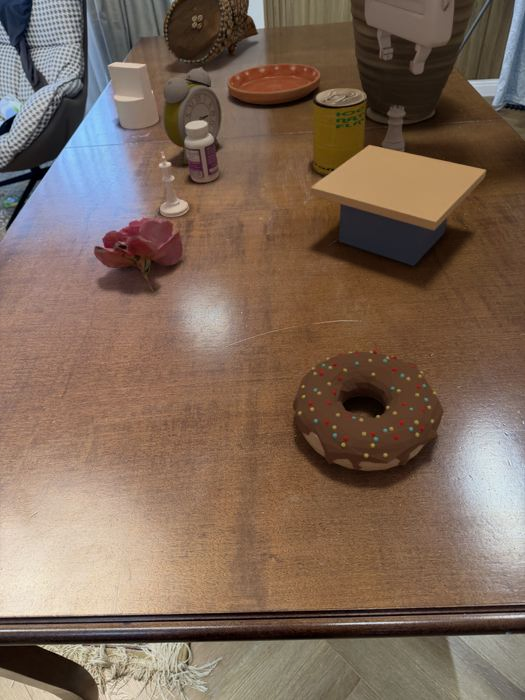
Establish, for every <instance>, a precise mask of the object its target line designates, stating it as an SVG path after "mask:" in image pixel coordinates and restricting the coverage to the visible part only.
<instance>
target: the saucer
mask: <svg viewBox="0 0 525 700" xmlns="http://www.w3.org/2000/svg"><path fill="white" fill-rule="evenodd" d="M226 83H227V91H228V93H229V94H230V95H231V96H232V97H234V98H236V99H238V100H240V101H241V102H244V103H248V104H254V105H277V104H285V103H288V102H289V103H290V102H294V101H297V100H299V99H302V98H304V97H306V96H308V95H309V94H310V93H312V92H313V91H314V90H316V89H317V88H318V87H319V86H320V84H321V72H320V71H319V70H318V69H317V68H315V67H313V66H309V65H305V64H300V63H277V64H276V63H274V64H266V65H260V66H254V67H251V68H250V67H249V68H247V69H244V70H241V71H239V72H237V73H235V74H233V75H231V76H230V77H229V78H228V80H227V82H226Z"/></svg>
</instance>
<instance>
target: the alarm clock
mask: <svg viewBox="0 0 525 700" xmlns="http://www.w3.org/2000/svg"><path fill="white" fill-rule="evenodd" d="M162 92H163V97H164V99H165V100H164V104H163V107H162V108H163V109H162V123H163V128H164V131H165V134H166V136H167V138H168V139H169V140H170V142H172V143H173V144H174V145H175V146H177V147H179V148H182V151H183V157H184V158H183V159H184V160H183V161H184V164H186V165H188V160H187V155H186V149H185V144H184V141H185V138H186V137H187V136H188V135H187V134H186V129H185V125H186V124H187V123H189V122H192V121H199V120H201V121H206V122H207V123H208V128H209V132H208V133H210V134H211V135H212V136H213V138H214V142H215V148H219V147H220V143H219V140H218V139H217V138H218V136H219V132H220V130H221V127H222V126H221V125H222V105H221V102H220V99H219V98H218V95H217V94H216V92H214V90H213V89H212V79H211V77H210V74H209V73H208V71H206V70H204V68H203V67H202V66H199V67H198V68H192V69H191V70H189V71H188V72H187V75H186V76H185V79H184V78H181V77H175V76H174V77H171V78H169V79H168V80H167V81H166V82H165V84H164V86H163V91H162Z"/></svg>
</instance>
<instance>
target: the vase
mask: <svg viewBox="0 0 525 700" xmlns="http://www.w3.org/2000/svg"><path fill="white" fill-rule="evenodd" d="M475 2H476V0H454V14H453V24H452V32H451V37H450V39H449V41H448V42H447V44H446V45H444V46H440V47H434V48H432V49H431V52H430V54H429V55H428V57H427V59H426V61H425V63H424V69H423V72H422V73H421V74H416V75H415V74H413V73H411V72H410V71H409V68H410V61H412V60H414V58H415V56H416V53H417V51H415V46H416V43H414V42H411V41H408V40H406V39H403V38H401V37H398V36H395V35H393V34H392V35H390V40H391V47H392V48H393V53H392V54H393V56H392V59H391V60H386V61H385V60H383V59H380V57H379V56H380V46H379V42H378V37H377V32H378V29H377V28H374V27H372V26H369V25H367V22H366V18H365V0H350V13H351V17H352V19H351V21H352V22H351V24H352V27H353V38H354V48H355V49H354V55H355V58H356V68H357V70H358V77H359V80H360V85H361V89H362V91H363V92H364V93H365V94H366V95H367V97H366V103H367V105H368V106H369V107H367V108H366V113H365V115H366V116H367V117H368V118H369V119H371V120H373V121H375V122H378V123H381V124H387V125H389V124H388V121H389V116H388V114H387V113H388V112H389V111H390V107H393V108H394V106H397V107H396V108H399V106H402V107H404V111H405V113H406V114H405V116H404V117H403V119H402V120H403V124H402V125H409V124H410V125H411V124H415V123H418V122H422V121H424V120H428V119H429V118H432V117H433V116H434V115H435V113H436V107H437V106H438V103H439V101H440V100H441V96H442V93H443V90H444V89H445V87H446V85H447V83H448V81H449V77H450V75H451V74H452V72H453V69H454V65H455V64H456V62H457V60H458V56H459V53H460V49H461V48H462V45H463V44H464V41H465V34H466V30H467V29H468V26H469V21H470V20H471V19H470V18H471V16H472V13H473V7H474V5H475ZM401 109H402V108H401Z"/></svg>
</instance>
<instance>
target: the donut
mask: <svg viewBox="0 0 525 700" xmlns="http://www.w3.org/2000/svg"><path fill="white" fill-rule="evenodd" d="M356 397H365V398H367V397H368V398H371V399H373V400H376V401H378V402H379V403H380V404H381V405H383V407H384V412H383V413H382V414H381V415H379V414H377V415H376V416H375V417H369V416H364V415H360V414H356V413H353V412H352V411H349V410H346V409H345V407H344V405H343V404H344V403H345V402H346V401H347V400H350V399H352V398H356ZM292 408H293V411H294V416H293V421H294V422H295V424H296V426H297V427H298V429H299V430H300V432H301V434H302V435H303V437H304V439H305V440H306V441H307V443H308V444H309V445H310V446H311V447H312V448H313V449H314V451H315V452H316V453H318V454H319V455H321V456H322V457H323V458H324V459H325V460H326V462H327V463H328V465H332V464H337V465H339V466H342V467H344V468H347V469H352V470H356V471H367V472H368V471H380V470H382V471H384V470H388V469H391V468H393V467H394V468H395V467H398V466H406V465H407V463H408V461H409V460H411V459H412V458H414V457H415V456H417V455H418V454H419V452H420V451H421V450H422V449H423V448H424V446H425V445H426V444H428V443H429V442H431V441H432V440H434V439H435V438H436V437H437V436H438V429H439V426H440V424H441V420H442V417H443V415H444V409H443V406H442V404H441V402H440V399H439V397H438V396H437V391H434V390H433V389H432V387H431V385H430V383H429V382H428V381H427V379H426V378H425V376H424V372H423V371H422V370H420V369H419V367H418V366H417V365H416V364H415V363H414V362H413V363H412V362H408V361H403V360H402V359H400V358H397V356H395V355H391V356H390V355H385V354H380V353H378V351H377V350H373V351H372V350H370V351H357V350H356V351H355V352H352V351H348V353H339V355H335V356H332V357H326V359H325V360H324V361H322V362H320V363H318V364H316V365H315V366H313V367H311V368H310V370H309V371H308V372H307V373H306V374H305V375H304V376H303V377H302V379H301V382H300V384H299V387H298V389H297V392H296V395H295V397H294V400H293V403H292Z"/></svg>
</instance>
